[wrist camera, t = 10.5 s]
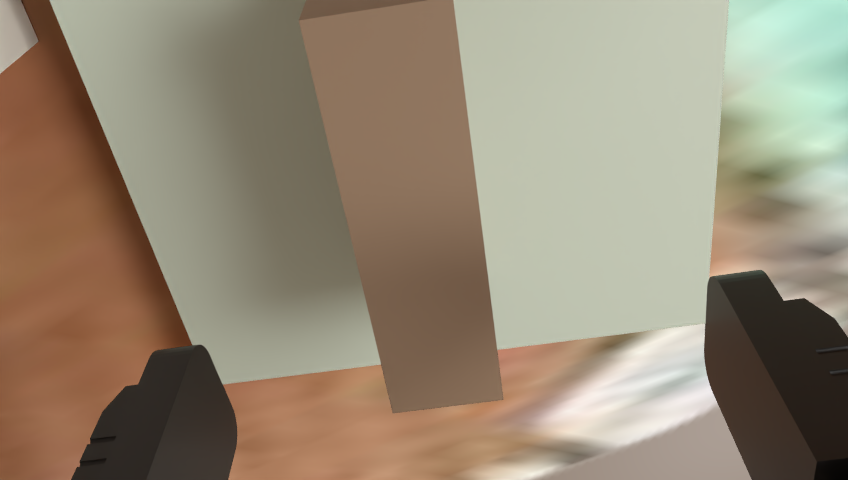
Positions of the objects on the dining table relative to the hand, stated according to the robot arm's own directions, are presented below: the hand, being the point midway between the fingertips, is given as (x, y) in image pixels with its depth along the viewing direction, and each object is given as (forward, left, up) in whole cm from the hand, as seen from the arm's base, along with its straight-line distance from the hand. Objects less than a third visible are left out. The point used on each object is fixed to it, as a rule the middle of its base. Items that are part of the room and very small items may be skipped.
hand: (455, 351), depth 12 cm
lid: (+1, 0, -9) cm, 9 cm away
